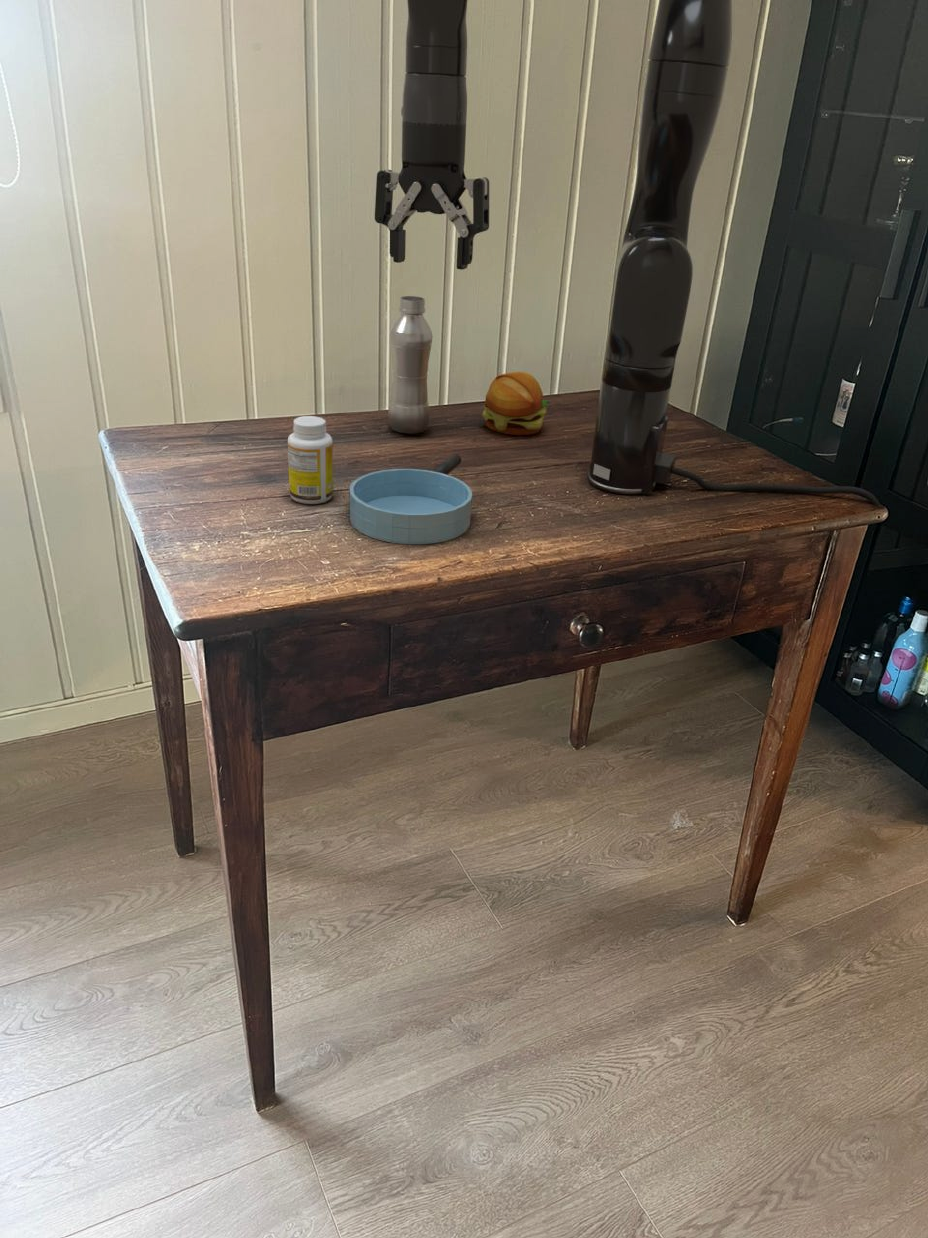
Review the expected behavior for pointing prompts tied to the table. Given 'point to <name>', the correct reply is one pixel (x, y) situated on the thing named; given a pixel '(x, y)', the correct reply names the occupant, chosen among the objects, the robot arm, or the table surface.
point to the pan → (410, 506)
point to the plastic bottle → (410, 367)
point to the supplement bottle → (310, 461)
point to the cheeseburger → (515, 404)
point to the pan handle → (448, 464)
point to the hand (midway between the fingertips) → (430, 265)
